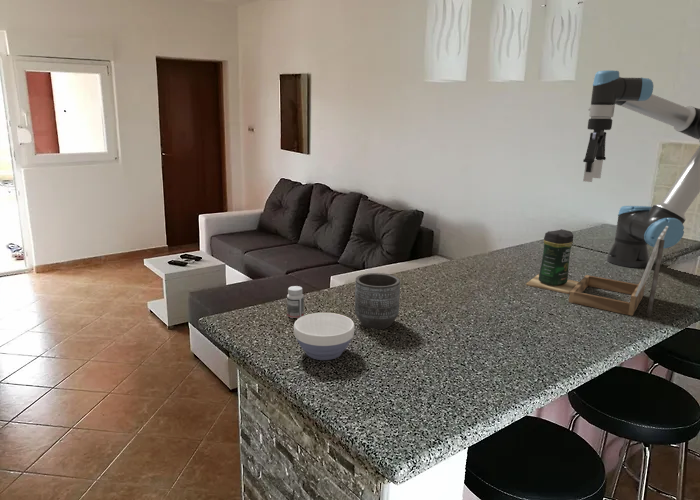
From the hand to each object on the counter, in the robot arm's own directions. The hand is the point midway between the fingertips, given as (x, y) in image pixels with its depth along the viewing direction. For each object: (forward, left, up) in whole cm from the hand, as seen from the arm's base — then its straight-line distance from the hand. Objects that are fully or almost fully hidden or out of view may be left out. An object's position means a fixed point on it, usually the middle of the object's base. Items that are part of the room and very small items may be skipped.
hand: (592, 179), depth 183 cm
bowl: (+110, -33, -35) cm, 120 cm away
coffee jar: (+20, -4, -34) cm, 40 cm away
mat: (+20, -4, -35) cm, 40 cm away
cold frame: (+24, +16, -35) cm, 45 cm away
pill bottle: (+97, -54, -35) cm, 116 cm away
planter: (+87, -33, -35) cm, 99 cm away
